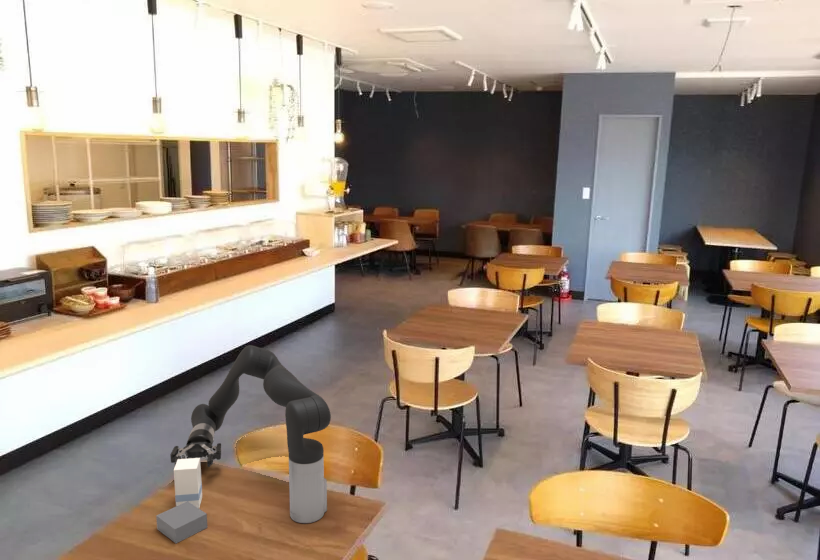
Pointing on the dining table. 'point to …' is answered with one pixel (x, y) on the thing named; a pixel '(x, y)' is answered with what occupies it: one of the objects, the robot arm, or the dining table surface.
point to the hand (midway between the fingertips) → (193, 464)
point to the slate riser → (181, 522)
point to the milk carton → (188, 481)
